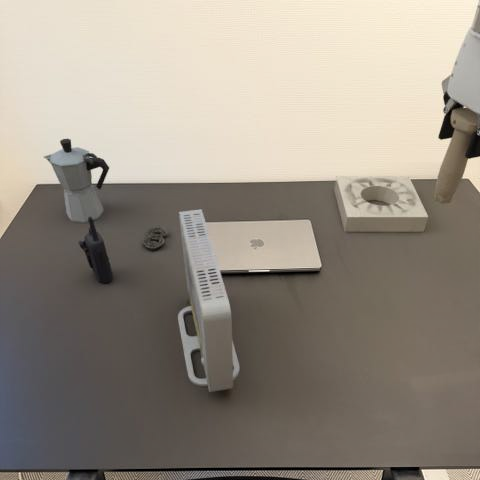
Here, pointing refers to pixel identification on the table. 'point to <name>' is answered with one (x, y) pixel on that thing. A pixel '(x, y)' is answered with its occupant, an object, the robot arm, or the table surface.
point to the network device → (206, 307)
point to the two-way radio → (96, 254)
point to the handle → (455, 154)
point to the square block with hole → (374, 216)
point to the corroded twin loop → (155, 237)
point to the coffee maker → (78, 180)
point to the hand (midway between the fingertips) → (460, 146)
